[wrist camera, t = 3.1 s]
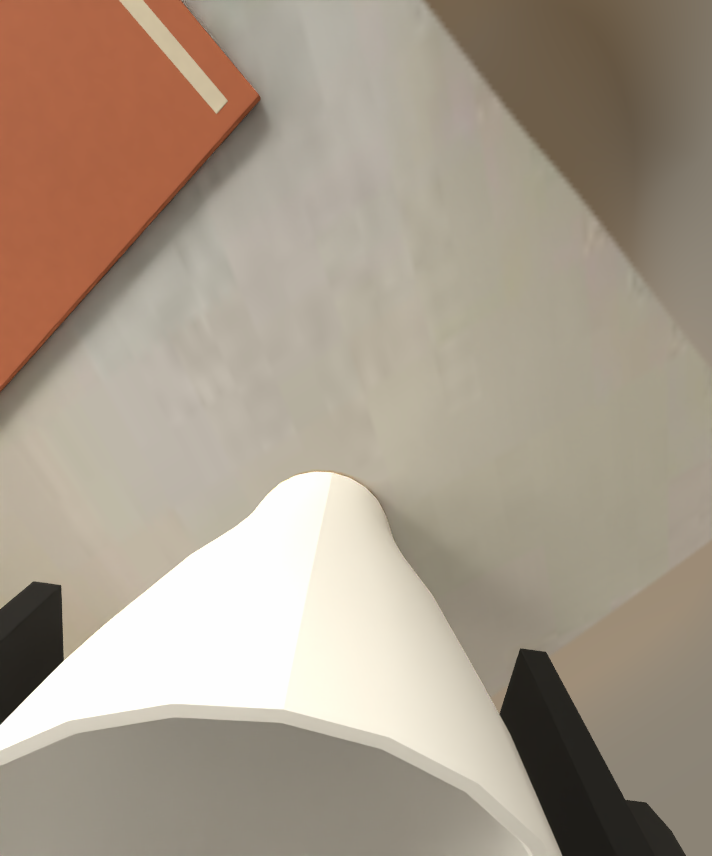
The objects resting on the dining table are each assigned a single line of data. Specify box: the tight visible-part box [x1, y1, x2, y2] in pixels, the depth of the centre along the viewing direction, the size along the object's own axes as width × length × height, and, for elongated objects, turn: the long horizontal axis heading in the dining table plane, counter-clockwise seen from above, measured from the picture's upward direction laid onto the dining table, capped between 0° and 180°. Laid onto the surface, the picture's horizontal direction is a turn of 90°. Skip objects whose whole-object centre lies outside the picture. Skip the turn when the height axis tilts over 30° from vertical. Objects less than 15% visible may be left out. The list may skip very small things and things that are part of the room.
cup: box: [0, 472, 562, 856], centre depth 13 cm, size 10×10×14 cm
